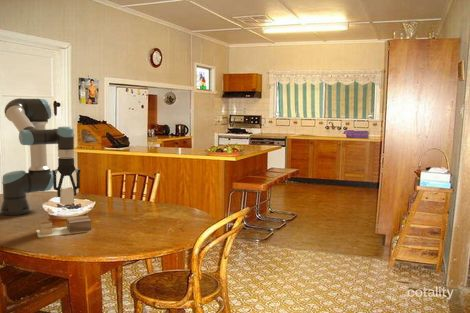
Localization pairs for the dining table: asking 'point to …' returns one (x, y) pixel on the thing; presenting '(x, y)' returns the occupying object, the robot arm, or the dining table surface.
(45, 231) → the oak cube
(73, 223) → the plinth
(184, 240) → the dining table surface
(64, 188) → the white block
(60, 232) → the build board
